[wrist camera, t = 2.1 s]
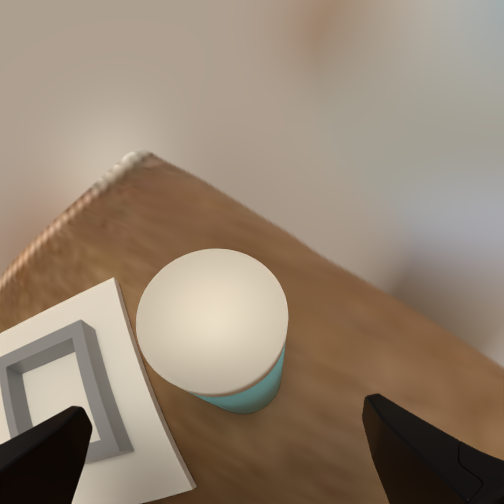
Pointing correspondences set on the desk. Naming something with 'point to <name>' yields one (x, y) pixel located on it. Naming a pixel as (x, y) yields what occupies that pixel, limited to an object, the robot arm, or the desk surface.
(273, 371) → the teal cylinder white cap
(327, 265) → the desk surface
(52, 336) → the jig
